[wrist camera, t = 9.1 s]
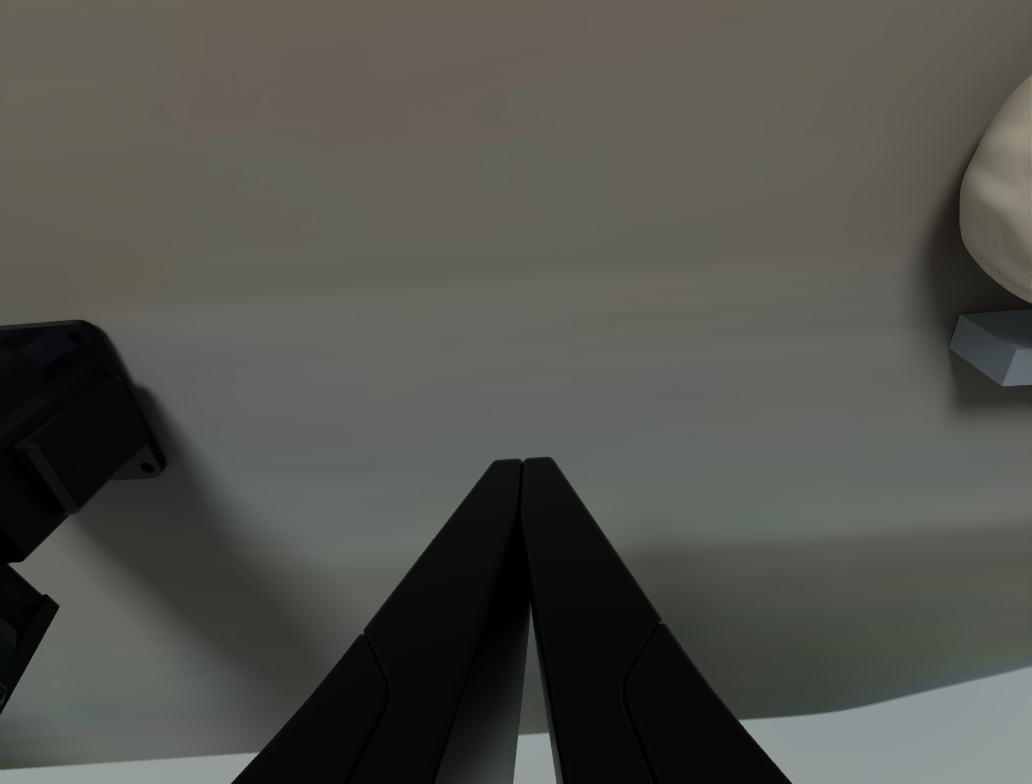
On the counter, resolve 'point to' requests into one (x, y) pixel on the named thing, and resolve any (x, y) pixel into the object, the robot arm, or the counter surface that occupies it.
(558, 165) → the counter surface
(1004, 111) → the garlic bulb
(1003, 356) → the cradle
